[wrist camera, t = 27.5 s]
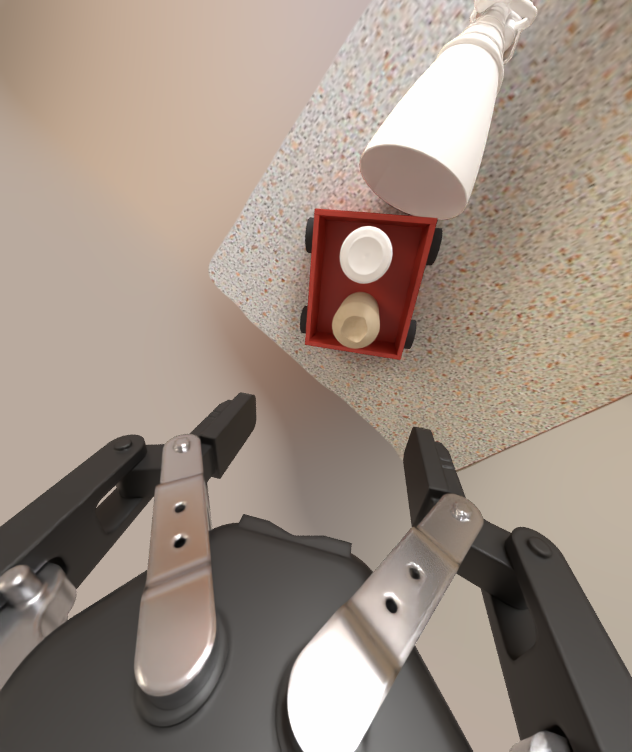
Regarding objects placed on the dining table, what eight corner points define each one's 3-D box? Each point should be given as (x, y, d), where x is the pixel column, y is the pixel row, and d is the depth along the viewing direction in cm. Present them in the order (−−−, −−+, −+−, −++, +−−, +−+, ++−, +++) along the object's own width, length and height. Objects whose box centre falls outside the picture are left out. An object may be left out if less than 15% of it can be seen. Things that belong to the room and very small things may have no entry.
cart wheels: (313, 219, 34) (306, 215, 30) (437, 229, 31) (445, 227, 28) (305, 328, 40) (299, 336, 37) (407, 343, 38) (410, 353, 35)
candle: (381, 326, 37) (382, 349, 28) (344, 332, 39) (335, 355, 30) (376, 287, 35) (376, 299, 26) (337, 295, 37) (325, 309, 28)
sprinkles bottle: (383, 274, 34) (388, 286, 22) (350, 272, 35) (337, 283, 23) (389, 235, 32) (397, 225, 20) (353, 234, 33) (340, 225, 21)
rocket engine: (627, -273, 13) (430, 131, 18) (623, -11, 20) (484, 222, 25) (435, -82, 21) (338, 155, 26) (482, 53, 28) (399, 218, 33)
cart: (323, 214, 33) (314, 208, 28) (428, 223, 31) (438, 218, 26) (313, 333, 40) (304, 344, 36) (397, 346, 39) (400, 360, 34)
